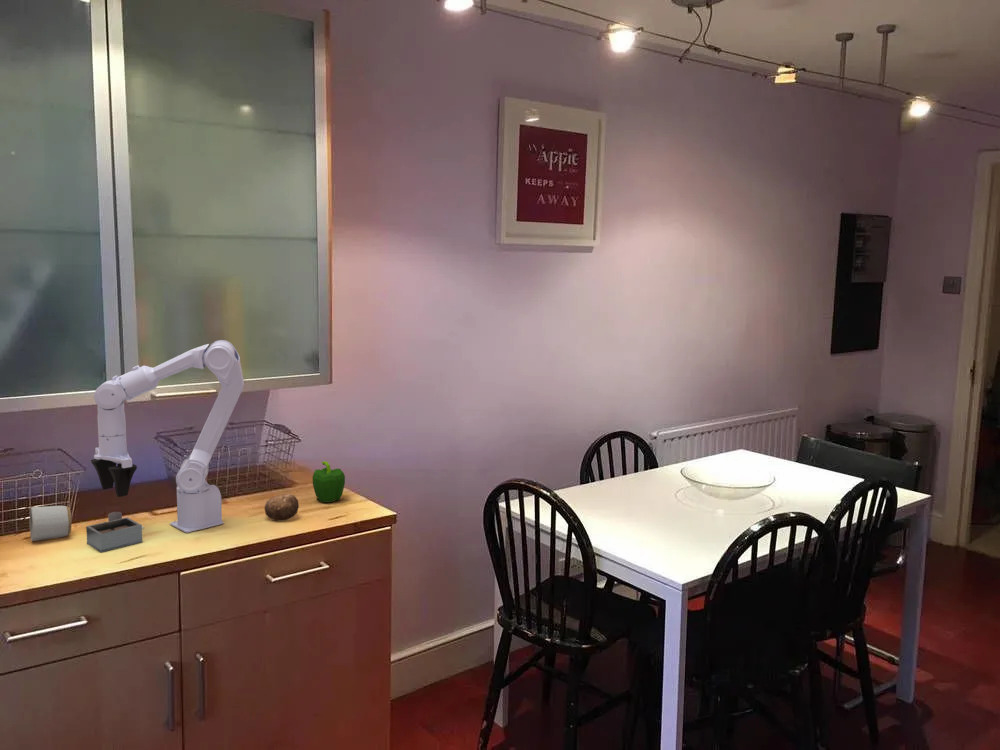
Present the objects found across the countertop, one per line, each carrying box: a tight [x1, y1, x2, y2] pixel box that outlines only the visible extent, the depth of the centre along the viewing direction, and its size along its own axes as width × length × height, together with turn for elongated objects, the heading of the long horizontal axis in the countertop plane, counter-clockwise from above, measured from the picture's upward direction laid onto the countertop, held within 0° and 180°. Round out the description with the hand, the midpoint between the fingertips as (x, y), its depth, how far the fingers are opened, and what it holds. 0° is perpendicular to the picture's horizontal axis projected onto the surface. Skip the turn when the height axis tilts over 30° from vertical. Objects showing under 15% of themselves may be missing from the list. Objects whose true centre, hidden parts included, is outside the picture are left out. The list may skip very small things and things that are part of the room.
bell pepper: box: [312, 461, 346, 503], centre depth 217 cm, size 8×8×10 cm
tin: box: [85, 516, 143, 553], centre depth 183 cm, size 9×7×4 cm
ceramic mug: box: [29, 505, 72, 542], centre depth 186 cm, size 10×8×7 cm
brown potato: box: [264, 493, 300, 522], centre depth 203 cm, size 8×8×6 cm
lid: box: [107, 511, 145, 530], centre depth 191 cm, size 10×8×4 cm
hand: (115, 492), depth 190 cm, fingers open, 7 cm apart
